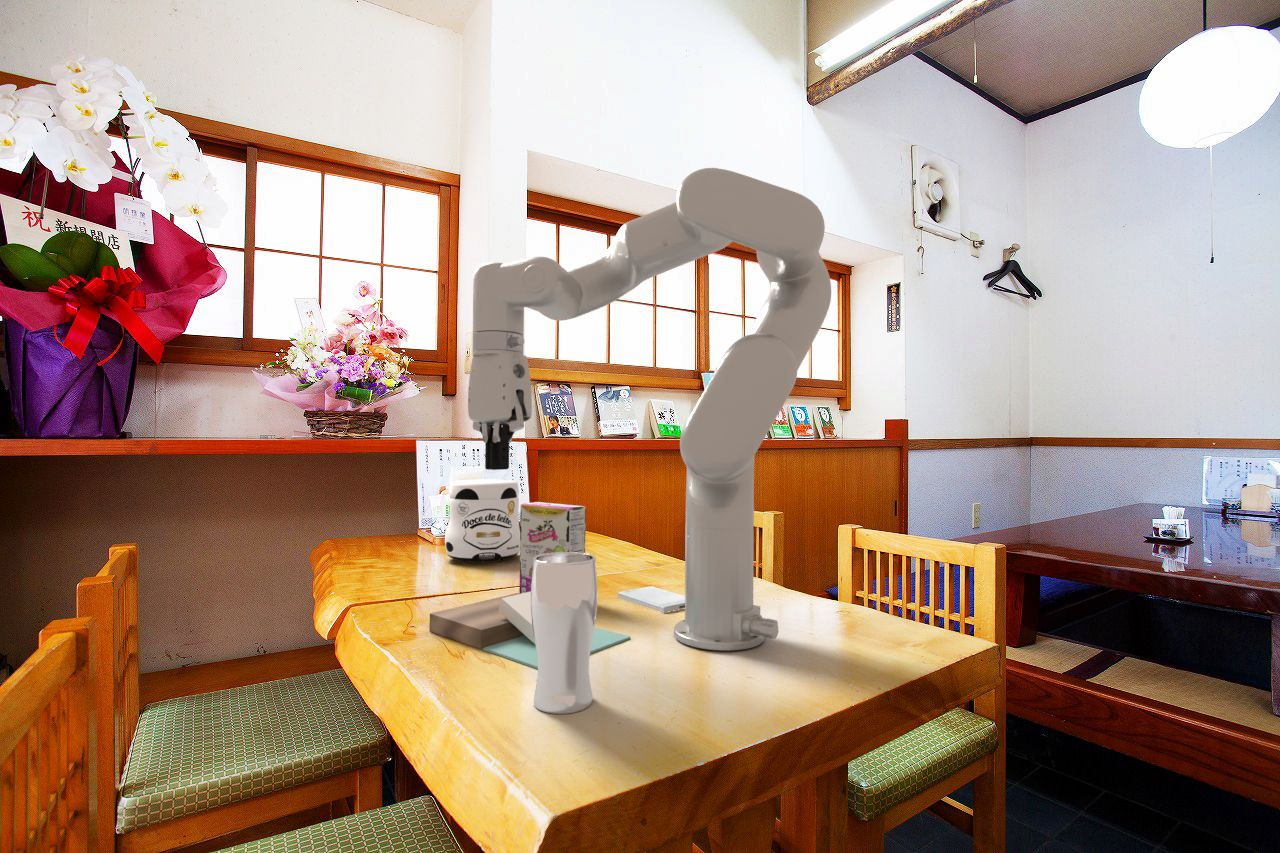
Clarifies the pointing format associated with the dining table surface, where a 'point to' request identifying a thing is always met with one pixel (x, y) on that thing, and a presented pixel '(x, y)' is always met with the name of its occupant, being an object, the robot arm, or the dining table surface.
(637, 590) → the hard drive
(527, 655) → the mat
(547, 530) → the candy bar box
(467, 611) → the block
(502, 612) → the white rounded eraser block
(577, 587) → the beer glass
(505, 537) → the doce de leite container
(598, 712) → the dining table surface
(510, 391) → the robot arm
